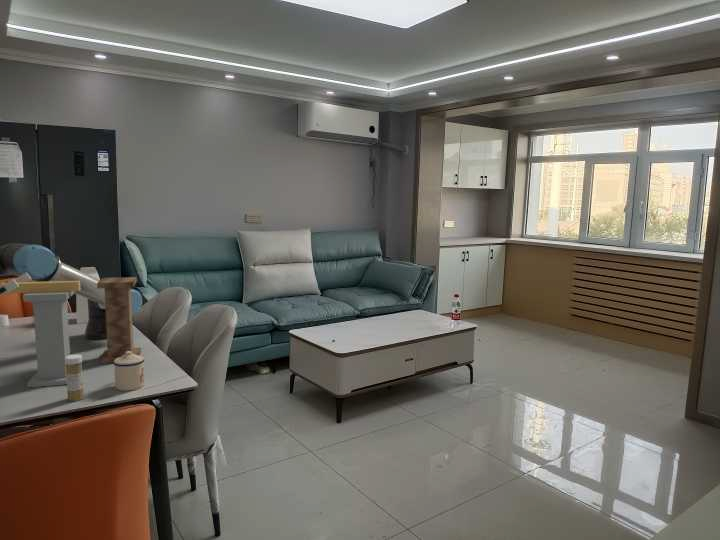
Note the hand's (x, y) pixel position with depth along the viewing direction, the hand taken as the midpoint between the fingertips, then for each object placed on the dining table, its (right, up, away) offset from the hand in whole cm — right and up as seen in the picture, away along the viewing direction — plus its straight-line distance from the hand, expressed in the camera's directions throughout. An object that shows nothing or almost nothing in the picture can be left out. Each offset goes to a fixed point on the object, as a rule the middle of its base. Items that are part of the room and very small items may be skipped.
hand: (22, 279), depth 168 cm
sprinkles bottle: (+22, -37, -9) cm, 44 cm away
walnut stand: (+17, -31, +31) cm, 47 cm away
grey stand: (+6, -34, +7) cm, 35 cm away
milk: (-24, -22, +89) cm, 95 cm away
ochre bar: (+5, -4, +2) cm, 7 cm away
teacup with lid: (+33, -35, +3) cm, 48 cm away
